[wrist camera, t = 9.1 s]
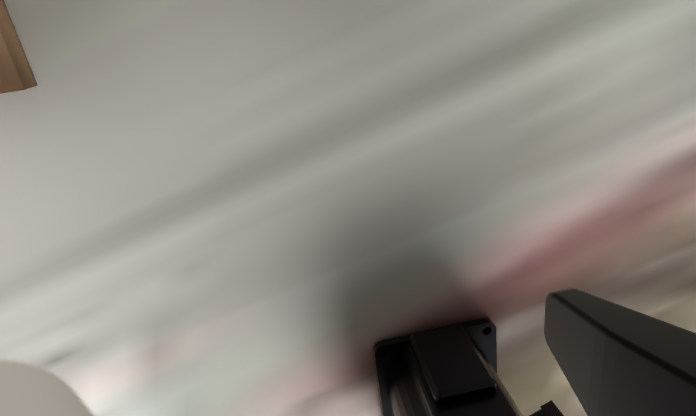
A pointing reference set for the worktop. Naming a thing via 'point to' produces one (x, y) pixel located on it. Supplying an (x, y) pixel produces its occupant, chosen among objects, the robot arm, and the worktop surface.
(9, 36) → the walnut board
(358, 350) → the worktop surface
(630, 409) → the robot arm
